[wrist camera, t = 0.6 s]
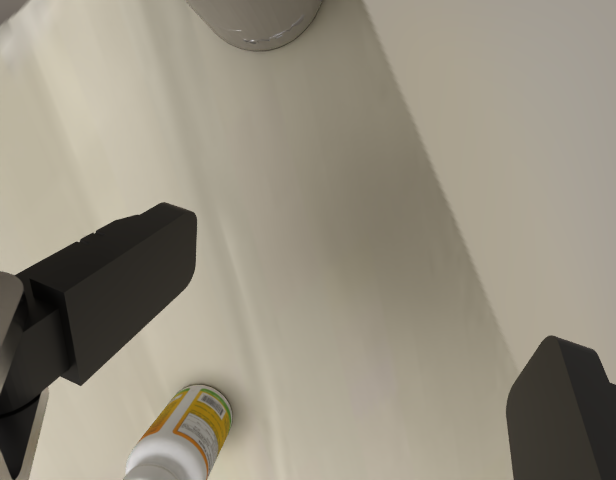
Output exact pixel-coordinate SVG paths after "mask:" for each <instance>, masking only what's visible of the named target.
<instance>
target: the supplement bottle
mask: <svg viewBox="0 0 616 480" xmlns="http://www.w3.org/2000/svg"><path fill="white" fill-rule="evenodd" d="M231 424H232V411H231V407H230V405H229V403H228V401H227V400H226V399H225V397H224V396H223V395H222V394H221V393H220V392H218V391H217V390H215V389H214V388H211V387H209V386H205V385H192V386H188V387H186V388H184V389H182V390H181V391H179V392H178V393H177V394H176V395H175V396H174V397H173V398H172V400H171V401H170V402H169V404H168V405H167V406H166V407H165V409H164V410H163V411H162V413H161V414H160V415H159V416H158V418H157V419H156V420H155V421H154V423H153V424H152V425H151V426H150V428H149V429H148V430H147V432H146V433H145V434H144V435H143V437H142V438H141V439H140V440H139V442H138V443H137V444H136V446H135V447H134V449H133V450H132V451H131V453H130V455H129V457H128V460H127V463H126V476H125V477H124V478H123V480H207V478H208V476H209V474H210V472H211V470H212V468H213V465H214V463H215V461H216V459H217V457H218V454H219V452H220V450H221V448H222V446H223V444H224V442H225V439H226V437H227V435H228V433H229V430H230V428H231Z"/></svg>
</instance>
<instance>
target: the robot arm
mask: <svg viewBox="0 0 616 480" xmlns="http://www.w3.org/2000/svg"><path fill="white" fill-rule="evenodd" d="M185 1H186V2H187V3H188V4H189V6H190V7H191V8H192V9H193V10H194V11H195V12H196V13H197V14H198V15H199V16H200V17H201V19H202V20H203V21H204V22H205V23H206V24H207V25H208V26H209V27H210V28H211V29H212V30H213V31H214V32H215V33H216V34H217V35H218V36H219V37H220V38H222V39H223V40H225V41H226V42H227V43H229V44H231V45H234V46H236V47H238V48H241V49H246V50H252V51H263V50H271V49H274V48H277V47H281V46H283V45H285V44H287V43H288V42H290V41H292V40H294V39H295V38H296V37H297V36H299V35H300V34H301V33H302V32H303V31H304V30H305V29H306V28H307V27H308V25H309V24H310V23H311V21H312V20H313V19H314V17H315V15H316V13H317V11H318V9H319V7H320V5H321V2H322V0H185ZM196 237H197V217H196V215H195V213H194V212H192V211H189V210H186V209H183V208H180V207H177V206H174V205H171V204H169V203H165V202H163V203H160V204H158V205H156V206H154V207H153V208H151V209H149V210H147V211H146V212H144V213H142V214H140V215H134V216H130V217H127V218H123V219H119V220H115V221H113V222H111V223H109V224H108V225H106V226H104V227H102V228H100V229H98V230H97V231H96V233H95V234H94V233H91V234H89V235H88V236H86V237H84V238H82V239H81V240H80V242H75V243H73V244H71V245H69V246H67V247H66V248H64V249H62V250H60V251H58V252H56V253H55V254H53V255H51V256H49V257H47V258H45V259H44V260H42V261H40V262H38V263H36V264H34V265H33V266H31V267H29V268H27V269H25V270H24V271H22V272H20V273H18V274H16V275H12V274H9V273H6V272H1V271H0V480H29V476H30V472H31V468H32V464H33V460H34V455H35V451H36V447H37V443H38V439H39V435H40V431H41V427H42V423H43V419H44V414H45V410H46V406H47V402H48V398H49V388H48V386H49V385H50V384H51V383H53V382H54V381H55V380H56V379H57V378H58V377H59V376H61V377H63V378H65V379H67V380H69V381H71V382H73V383H76V384H78V385H80V386H81V385H83V384H84V383H85V382H86V381H87V380H88V379H89V378H90V377H91V376H92V375H93V374H94V373H95V372H96V371H98V370H99V369H100V368H101V367H102V366H103V365H104V364H105V363H106V362H107V361H108V360H109V359H110V358H111V357H113V356H114V355H115V354H116V353H117V352H118V351H119V350H120V349H121V348H122V347H123V346H124V345H125V344H126V343H128V342H129V341H130V340H131V339H132V338H133V337H134V336H135V335H136V334H137V333H138V332H139V331H140V330H141V329H143V328H144V327H145V326H146V325H147V324H148V323H149V322H150V321H151V320H152V319H153V318H154V317H155V316H156V315H158V314H159V313H160V312H161V311H162V310H163V309H164V308H165V307H166V306H167V305H168V304H169V303H170V302H171V301H173V300H174V299H175V298H176V297H177V296H178V295H179V294H180V293H181V292H182V291H183V290H184V289H185V288H186V287H187V286H188V284H189V283H190V281H191V279H192V277H193V274H194V271H195V264H196ZM506 418H507V426H508V435H509V443H510V452H511V460H512V469H513V477H514V480H616V385H615V384H612V383H610V382H609V380H608V378H607V375H606V373H605V371H604V368H603V366H602V363H601V361H600V359H599V356H598V354H597V353H596V352H595V351H594V350H593V349H590V348H587V347H585V346H581V345H579V344H576V343H573V342H570V341H567V340H564V339H561V338H558V337H555V336H548V337H546V338H545V339H544V340H543V341H542V342H541V344H540V345H539V347H538V348H537V350H536V351H535V353H534V354H533V356H532V357H531V359H530V360H529V362H528V363H527V365H526V366H525V368H524V369H523V371H522V372H521V374H520V375H519V377H518V378H517V380H516V381H515V383H514V384H513V386H512V388H511V390H510V393H509V396H508V400H507V406H506Z"/></svg>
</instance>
